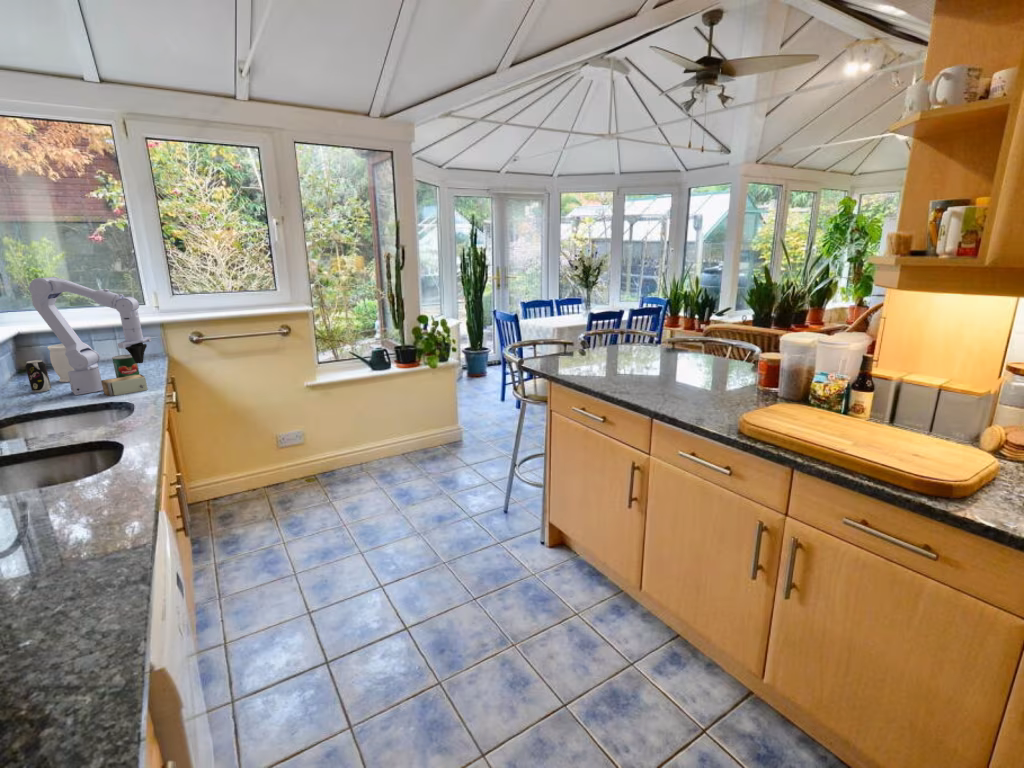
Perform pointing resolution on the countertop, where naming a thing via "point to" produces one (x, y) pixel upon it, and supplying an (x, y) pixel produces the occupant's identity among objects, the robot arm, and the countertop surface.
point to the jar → (60, 361)
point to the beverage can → (38, 376)
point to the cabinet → (104, 382)
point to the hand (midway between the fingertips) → (139, 363)
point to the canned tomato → (125, 366)
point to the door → (127, 386)
